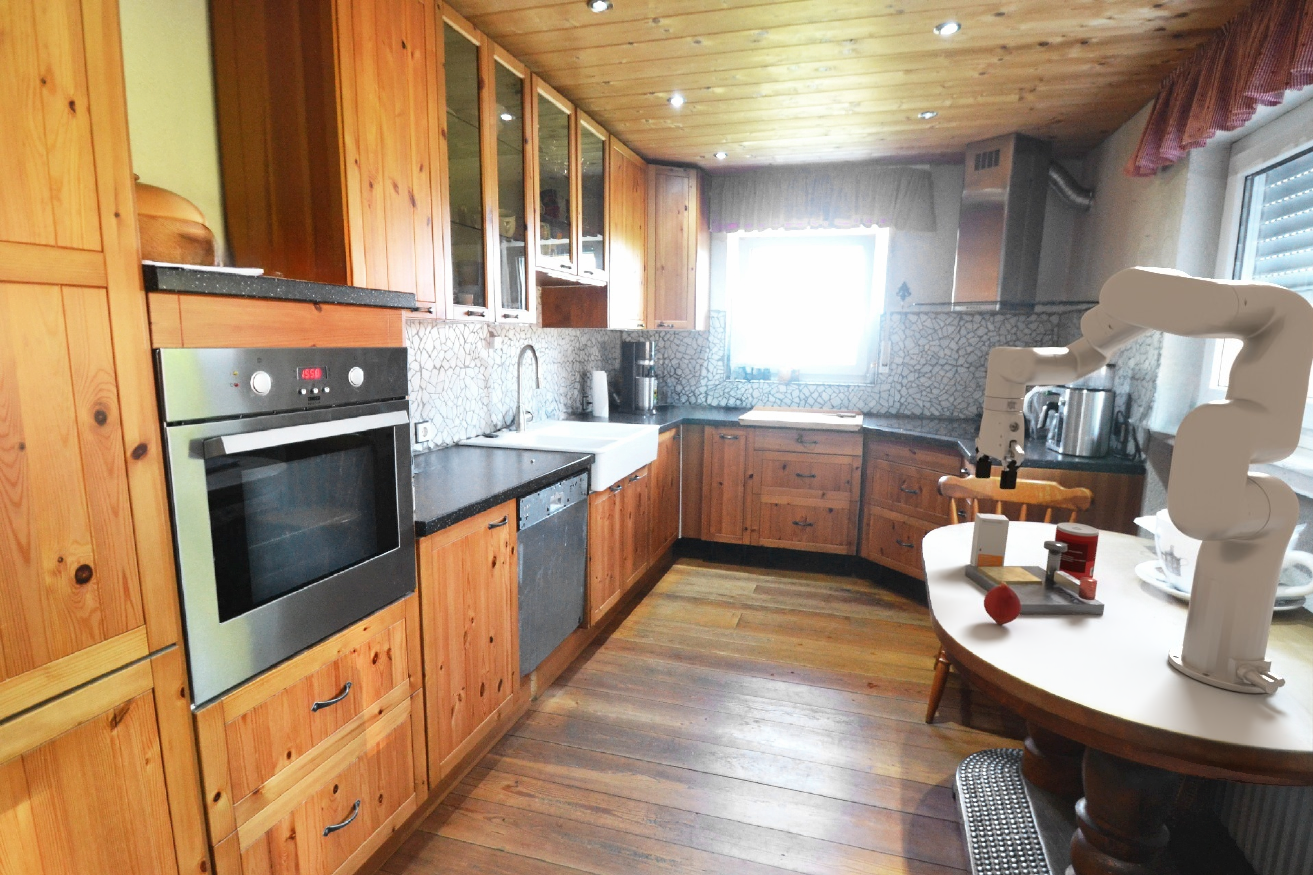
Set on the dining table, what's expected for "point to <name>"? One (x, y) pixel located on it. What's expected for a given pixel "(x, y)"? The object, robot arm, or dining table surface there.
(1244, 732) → the dining table surface
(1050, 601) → the press bed
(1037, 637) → the dining table surface
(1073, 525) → the canned food
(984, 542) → the skincare box
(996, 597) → the onion
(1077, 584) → the lever
